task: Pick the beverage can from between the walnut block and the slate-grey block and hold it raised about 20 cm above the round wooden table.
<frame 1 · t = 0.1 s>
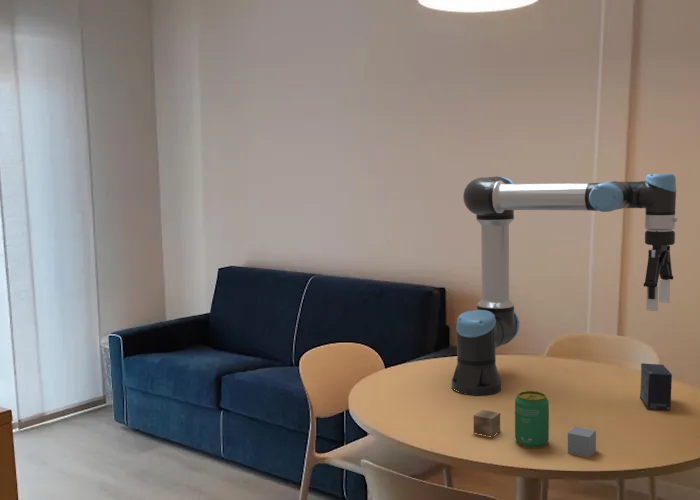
hand: (658, 306, 193), 28 cm above the table, fingers open, 13 cm apart
pacifier: (525, 415, 191), on the table
walnut block: (487, 433, 178), on the table
slate block: (581, 452, 165), on the table
beverage can: (531, 443, 171), on the table
small box: (655, 405, 196), on the table
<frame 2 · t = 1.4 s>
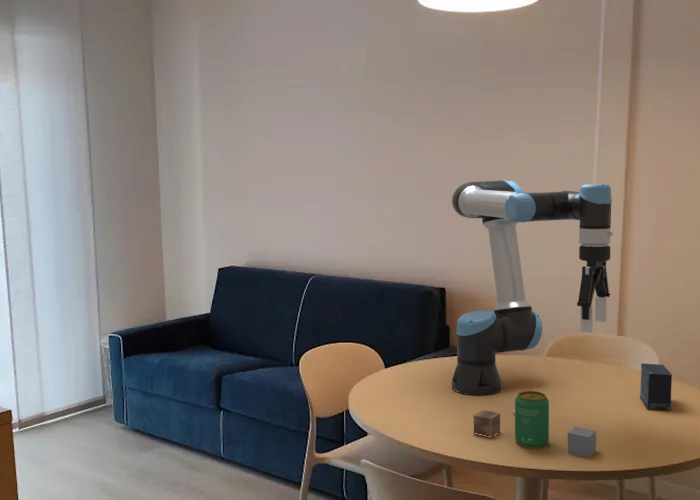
hand: (593, 326, 180), 26 cm above the table, fingers open, 13 cm apart
nothing on the table moved.
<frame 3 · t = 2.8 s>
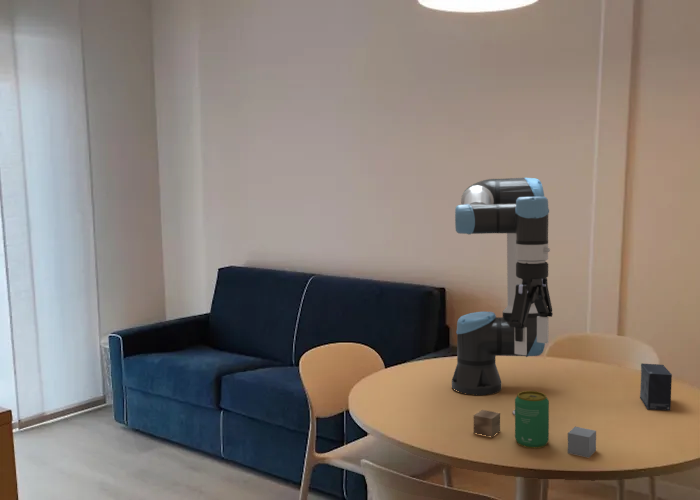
hand: (531, 348, 168), 24 cm above the table, fingers open, 13 cm apart
nothing on the table moved.
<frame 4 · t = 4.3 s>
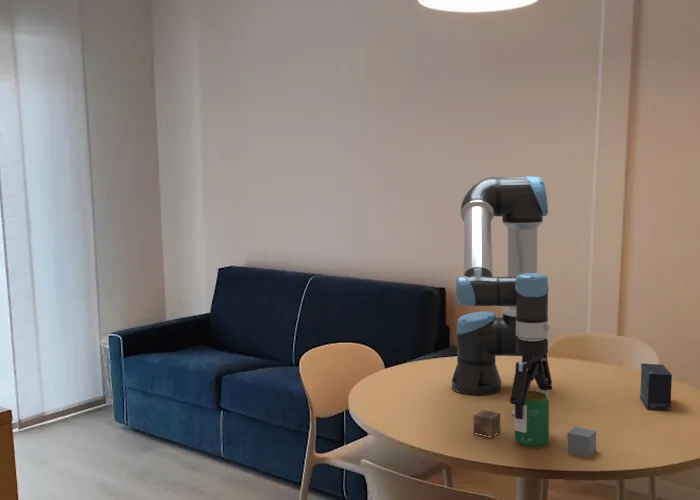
hand: (531, 423, 170), 5 cm above the table, fingers open, 13 cm apart
nothing on the table moved.
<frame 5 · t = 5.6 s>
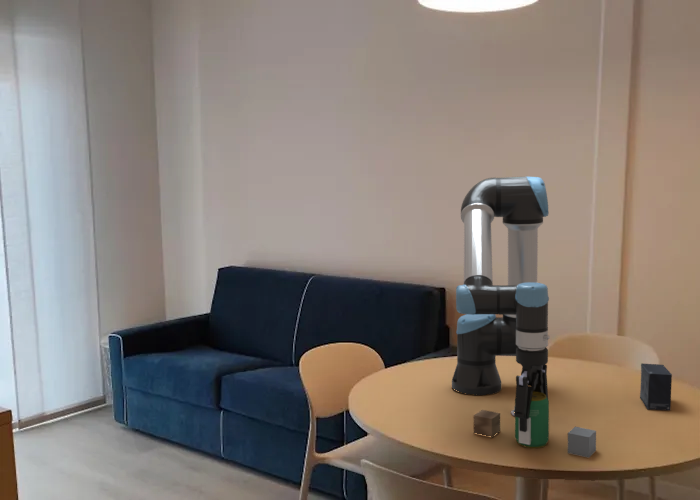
hand: (531, 437, 171), 1 cm above the table, fingers closed on beverage can, 8 cm apart
beverage can: (531, 443, 171), on the table, touching gripper
everything else where it was.
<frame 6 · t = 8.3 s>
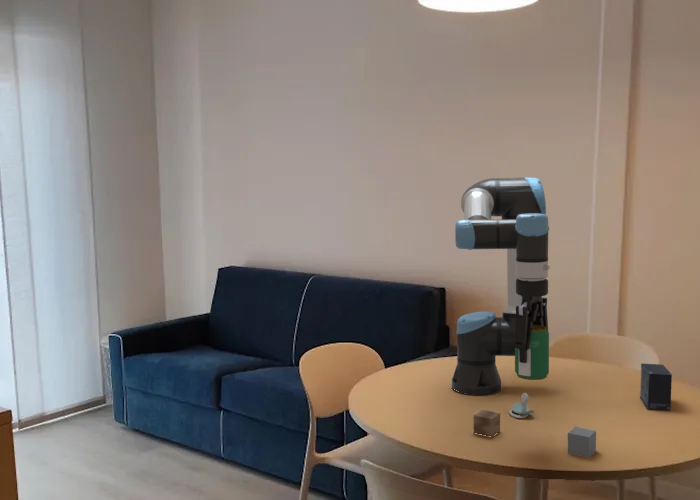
hand: (531, 370, 169), 18 cm above the table, fingers closed on beverage can, 8 cm apart
beverage can: (531, 376, 169), point 17 cm above the table, touching gripper
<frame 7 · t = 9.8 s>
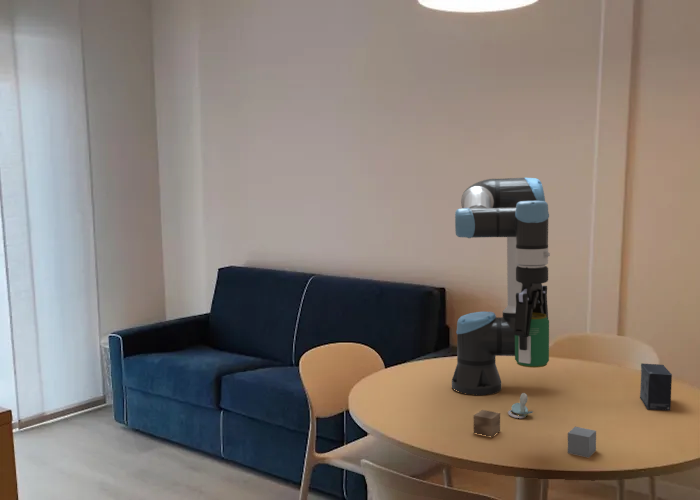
hand: (531, 358, 169), 21 cm above the table, fingers closed on beverage can, 8 cm apart
beverage can: (531, 364, 169), point 20 cm above the table, touching gripper
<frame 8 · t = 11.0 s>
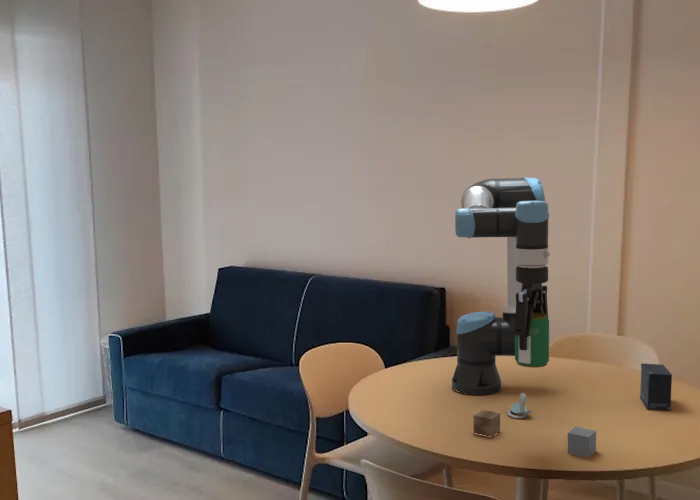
hand: (531, 358, 169), 21 cm above the table, fingers closed on beverage can, 8 cm apart
beverage can: (531, 364, 169), point 20 cm above the table, touching gripper
at the end: the gripper is holding beverage can; beverage can point 19.7 cm above the table; walnut block moved 0.1 cm from its start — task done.
